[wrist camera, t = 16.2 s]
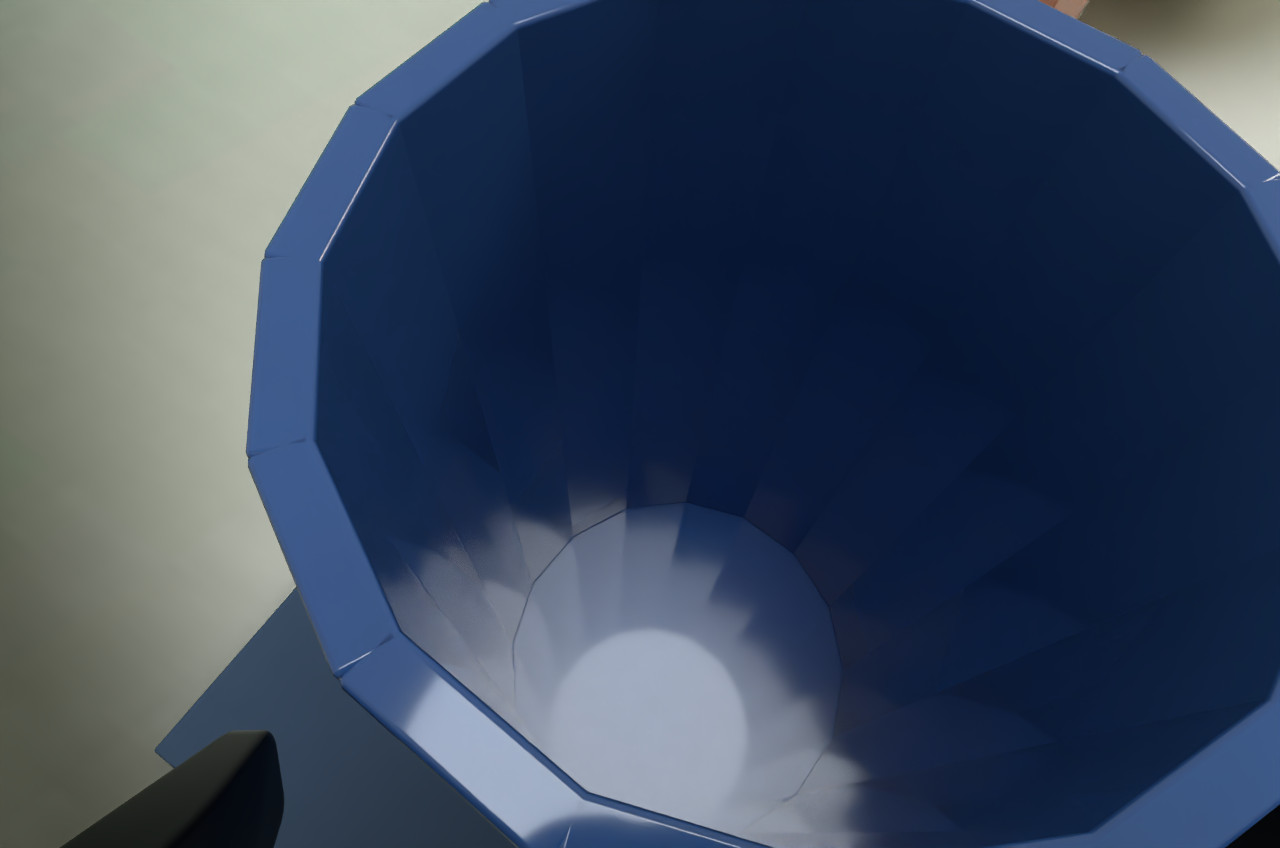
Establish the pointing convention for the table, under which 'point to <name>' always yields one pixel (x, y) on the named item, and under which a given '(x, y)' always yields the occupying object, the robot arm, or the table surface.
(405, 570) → the blue cup
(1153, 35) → the table surface
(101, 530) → the table surface
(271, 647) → the blue mat
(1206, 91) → the table surface
